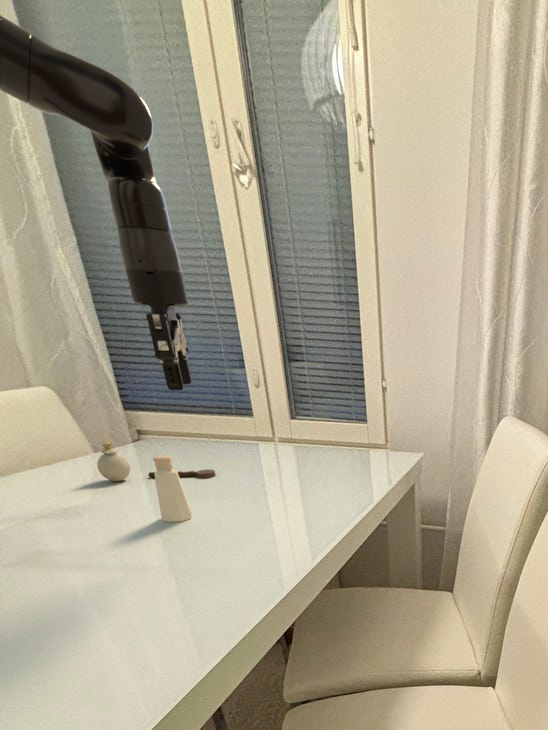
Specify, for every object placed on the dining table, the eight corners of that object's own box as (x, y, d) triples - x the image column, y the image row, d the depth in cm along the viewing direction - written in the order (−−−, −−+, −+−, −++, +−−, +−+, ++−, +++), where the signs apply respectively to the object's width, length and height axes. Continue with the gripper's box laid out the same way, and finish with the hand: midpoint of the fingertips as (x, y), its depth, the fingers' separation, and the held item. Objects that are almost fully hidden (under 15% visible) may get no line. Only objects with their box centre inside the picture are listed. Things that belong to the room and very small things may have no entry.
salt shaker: (171, 512, 104) (154, 452, 98) (199, 513, 104) (184, 453, 98) (155, 521, 99) (137, 459, 94) (184, 522, 99) (168, 460, 93)
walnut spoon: (146, 480, 123) (145, 474, 122) (151, 475, 126) (149, 470, 126) (214, 477, 126) (213, 472, 125) (216, 473, 129) (215, 468, 129)
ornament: (99, 485, 118) (83, 436, 113) (107, 476, 125) (92, 430, 119) (130, 483, 120) (116, 435, 115) (137, 475, 126) (124, 429, 121)
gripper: (136, 269, 86) (163, 382, 95) (112, 263, 75) (146, 392, 83) (188, 272, 88) (210, 382, 97) (172, 266, 77) (199, 392, 85)
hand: (180, 386), depth 90 cm, fingers open, 8 cm apart
